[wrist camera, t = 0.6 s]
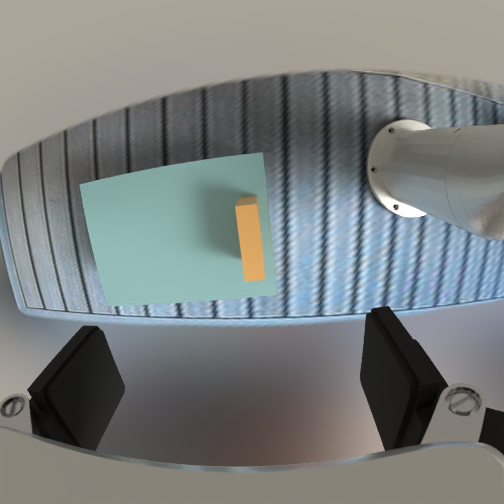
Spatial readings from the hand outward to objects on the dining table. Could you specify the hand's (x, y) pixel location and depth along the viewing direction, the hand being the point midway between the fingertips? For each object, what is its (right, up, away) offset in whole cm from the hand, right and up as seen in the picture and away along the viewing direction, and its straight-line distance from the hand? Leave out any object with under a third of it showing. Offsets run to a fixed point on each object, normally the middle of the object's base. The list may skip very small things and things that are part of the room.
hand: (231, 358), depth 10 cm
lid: (-7, +6, +21) cm, 23 cm away
